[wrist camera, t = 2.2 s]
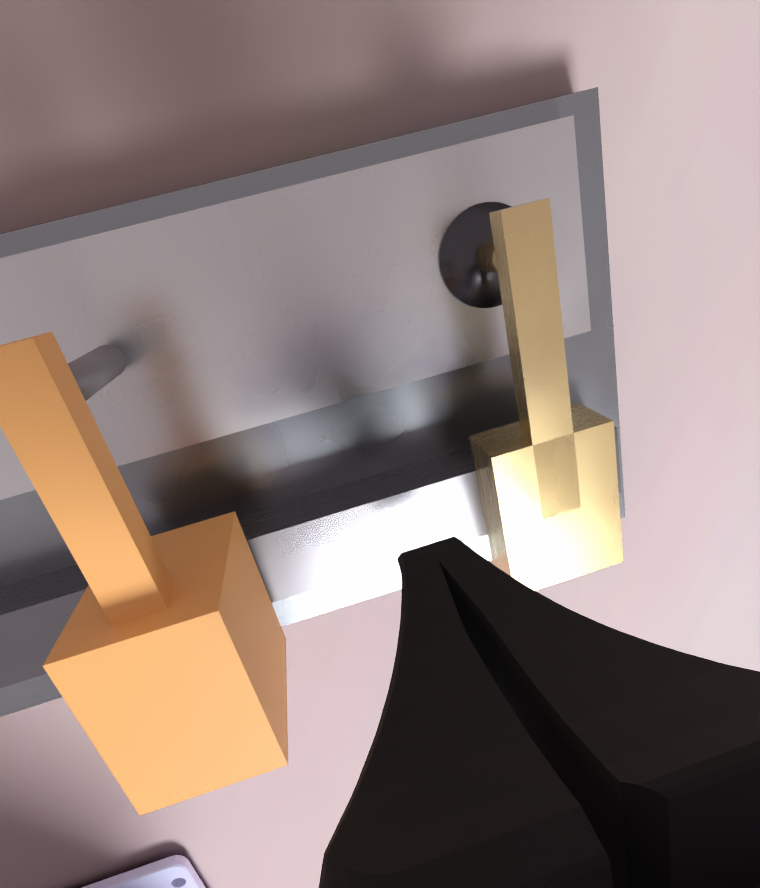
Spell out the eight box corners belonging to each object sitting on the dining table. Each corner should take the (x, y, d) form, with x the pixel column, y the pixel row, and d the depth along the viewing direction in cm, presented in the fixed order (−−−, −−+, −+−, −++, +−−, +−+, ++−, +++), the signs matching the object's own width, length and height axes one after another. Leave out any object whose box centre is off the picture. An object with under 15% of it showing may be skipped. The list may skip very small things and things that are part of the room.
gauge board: (607, 503, 18) (693, 569, 14) (-298, 789, 15) (-478, 958, 12) (575, 98, 13) (690, 40, 10) (-715, 417, 11) (-1229, 503, 7)
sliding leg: (285, 619, 15) (287, 765, 10) (179, 653, 14) (139, 815, 10) (158, 297, 11) (89, 325, 7) (17, 334, 11) (-141, 385, 7)
